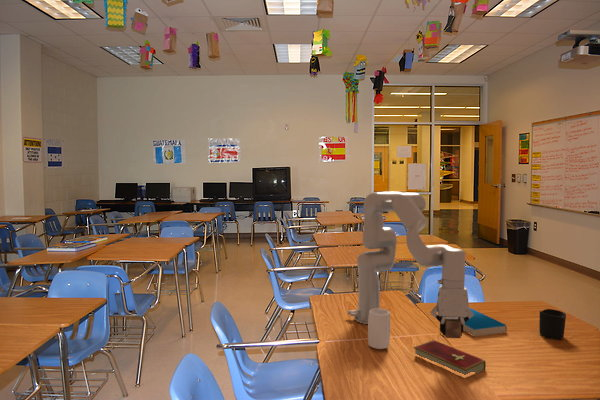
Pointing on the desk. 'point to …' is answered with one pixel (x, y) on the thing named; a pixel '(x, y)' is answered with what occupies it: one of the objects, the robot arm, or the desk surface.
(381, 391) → the desk surface
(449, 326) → the walnut block
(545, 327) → the pen holder
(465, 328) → the book
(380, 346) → the cup
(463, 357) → the hardcover book
